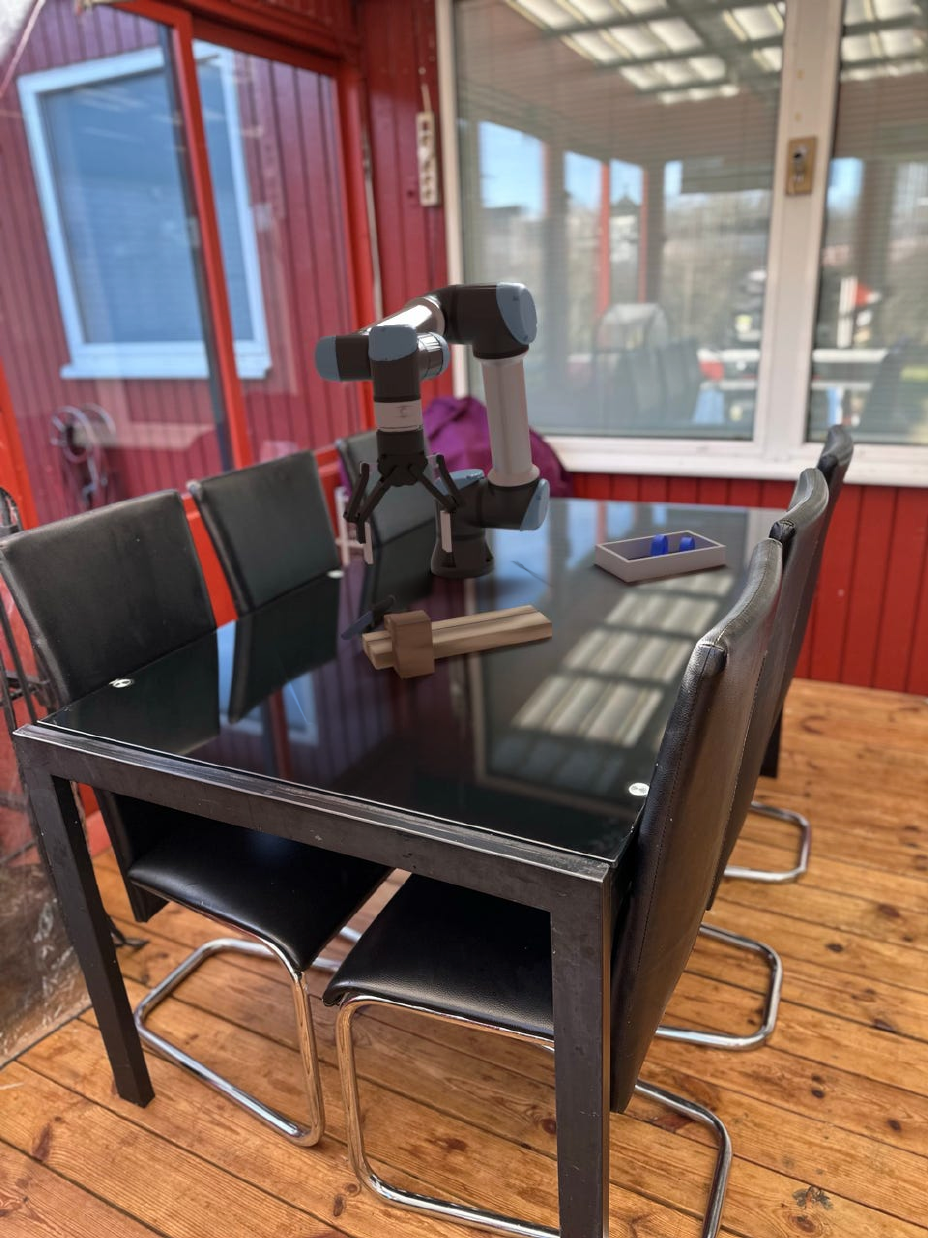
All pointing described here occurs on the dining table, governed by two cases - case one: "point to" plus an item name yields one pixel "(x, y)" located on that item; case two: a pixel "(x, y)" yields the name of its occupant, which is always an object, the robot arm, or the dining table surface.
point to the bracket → (661, 545)
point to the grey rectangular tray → (618, 552)
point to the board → (468, 634)
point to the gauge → (411, 643)
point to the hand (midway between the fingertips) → (408, 555)
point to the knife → (369, 617)
